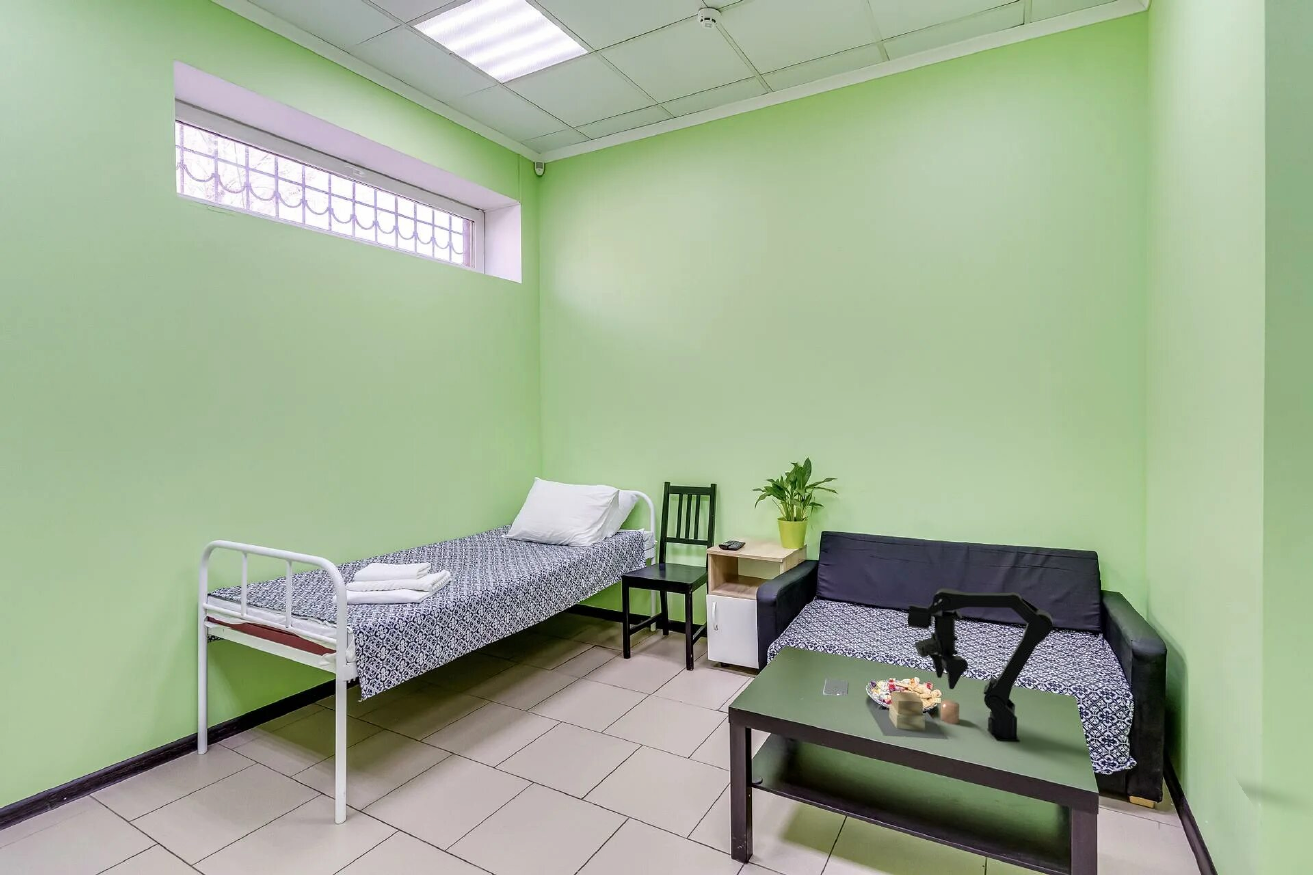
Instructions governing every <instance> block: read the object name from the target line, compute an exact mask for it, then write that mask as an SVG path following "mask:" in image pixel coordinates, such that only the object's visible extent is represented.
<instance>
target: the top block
mask: <svg viewBox="0 0 1313 875" xmlns="http://www.w3.org/2000/svg"><path fill="white" fill-rule="evenodd" d="M891 704H892V706H893V707H894V709H895V710H896V712H897V713H898V714H902V715H920V716H923V712H924V711H923V710H924V709H923V708H924V707H923V706H924V702H923V700H922V699H921V698H920V697H919V695H918V694H917V692H913V691H912V692H909V691H891Z"/></svg>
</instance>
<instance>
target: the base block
mask: <svg viewBox="0 0 1313 875" xmlns="http://www.w3.org/2000/svg"><path fill="white" fill-rule="evenodd" d="M888 708H889V709H888V710H889V717H890V719H891V720H892V722H893V723H894V725H895V726H896V728H897V729H914V730H925V716H924V715H923V716H920V715H902V714H898V713H897V712H896V710H895V709H894V707H893V706H892V703H889V707H888Z"/></svg>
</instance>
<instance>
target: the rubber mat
mask: <svg viewBox="0 0 1313 875" xmlns="http://www.w3.org/2000/svg"><path fill="white" fill-rule="evenodd" d="M868 711H869V712H870V713H871V716H872V718H873V719H874V721H875V723H876V724H877V727H878V728H879V729H880V732H881V733H882V735H883V736H887V737H889V736H890V737H902V736H903V738H904V736H905V737H906V738H917V739H918V738H920V739H921V738H922V739H934V740H935V739H937V740H939V739H940V740H949V738H948V736H947V735H946V734H945V733H944V731H943V730H942V729H941V727H940V726H939V725H938V724H937V722H936V721H935V719H933V717H932V716H931V715H930V714H929V712H927V711H926V713H923V715H924V716H925V730H914V729H897V728H896V726H895V725H894V723H893V722H892V720H891V719H890V717H889V709H874V708H869V709H868Z"/></svg>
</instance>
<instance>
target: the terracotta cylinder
mask: <svg viewBox="0 0 1313 875" xmlns="http://www.w3.org/2000/svg"><path fill="white" fill-rule="evenodd" d="M940 720H941V721H942V722H944V723H946V724H950V725H957V724H959V723H960V703H958V702H957V701H953V700H949V699H946V700H945V699H944V700H942V701H941V703H940Z"/></svg>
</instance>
